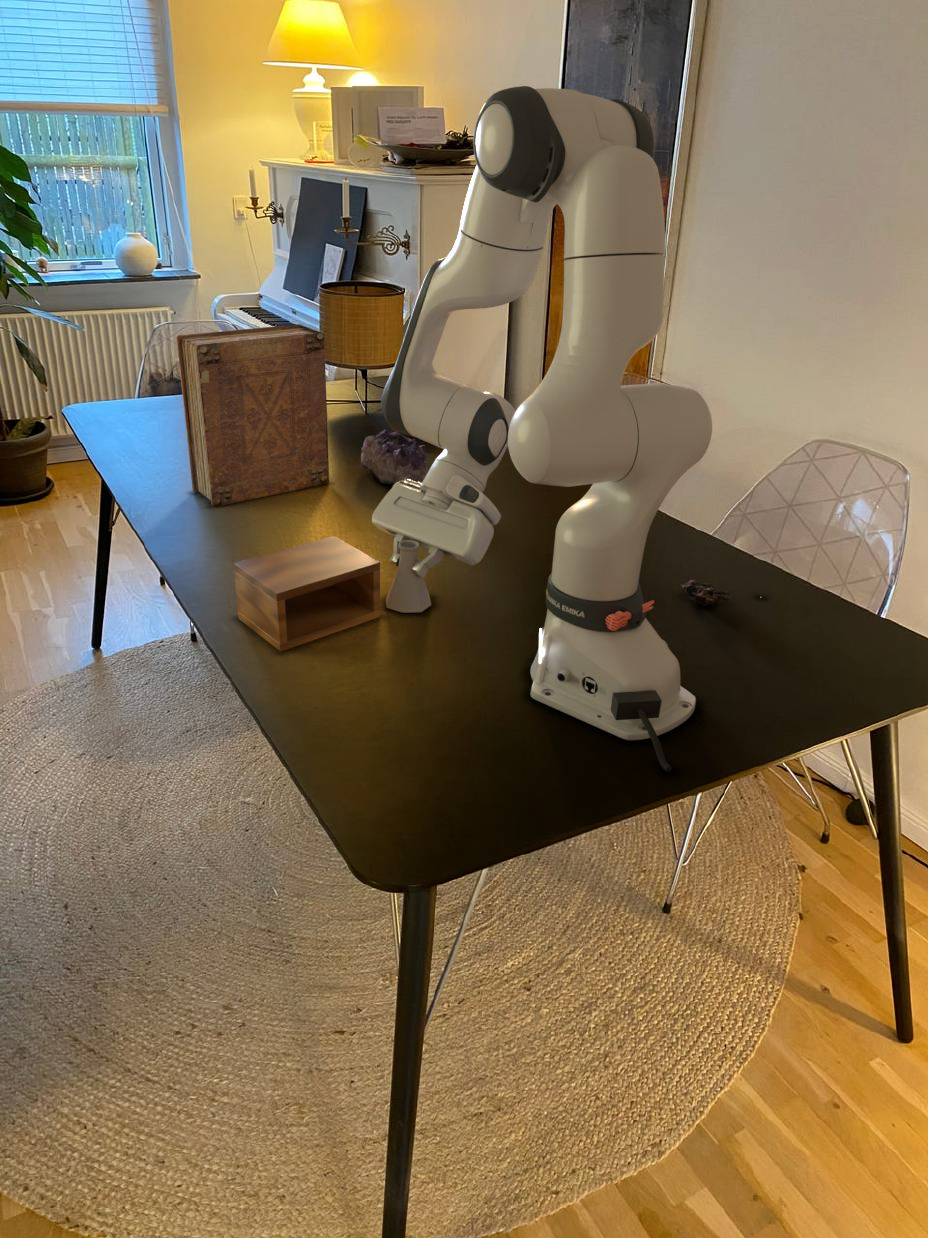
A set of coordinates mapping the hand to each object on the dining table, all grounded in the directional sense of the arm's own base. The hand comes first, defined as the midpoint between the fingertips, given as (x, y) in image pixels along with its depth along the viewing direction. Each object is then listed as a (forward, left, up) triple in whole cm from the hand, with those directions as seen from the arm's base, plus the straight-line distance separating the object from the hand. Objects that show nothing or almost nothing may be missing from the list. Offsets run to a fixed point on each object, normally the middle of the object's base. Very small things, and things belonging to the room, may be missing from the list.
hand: (405, 570), depth 136 cm
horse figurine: (-28, -41, -6) cm, 50 cm away
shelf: (+5, +14, -6) cm, 16 cm away
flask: (0, -1, -6) cm, 6 cm away
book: (+57, -8, -6) cm, 58 cm away
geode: (+46, -34, -6) cm, 57 cm away
